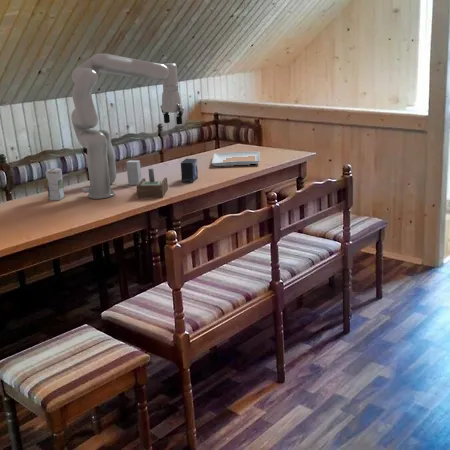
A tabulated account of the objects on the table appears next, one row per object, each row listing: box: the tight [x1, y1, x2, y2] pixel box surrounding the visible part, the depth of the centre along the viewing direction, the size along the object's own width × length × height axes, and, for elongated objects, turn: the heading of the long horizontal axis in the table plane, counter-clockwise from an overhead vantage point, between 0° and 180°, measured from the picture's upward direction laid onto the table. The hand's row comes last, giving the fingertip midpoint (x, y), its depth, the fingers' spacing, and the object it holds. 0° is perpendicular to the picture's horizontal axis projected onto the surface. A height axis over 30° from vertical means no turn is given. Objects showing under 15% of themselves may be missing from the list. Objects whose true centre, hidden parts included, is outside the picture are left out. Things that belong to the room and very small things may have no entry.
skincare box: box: [125, 159, 143, 186], centre depth 321 cm, size 6×4×12 cm
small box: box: [180, 158, 199, 184], centre depth 323 cm, size 11×6×10 cm, turn 168°
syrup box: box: [45, 167, 65, 201], centre depth 299 cm, size 6×6×14 cm
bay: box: [135, 177, 169, 199], centre depth 301 cm, size 16×12×6 cm
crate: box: [141, 168, 162, 186], centre depth 297 cm, size 8×8×11 cm
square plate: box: [211, 150, 261, 167], centre depth 361 cm, size 27×27×4 cm
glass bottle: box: [98, 129, 117, 185], centre depth 321 cm, size 10×10×28 cm
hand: (173, 123), depth 316 cm, fingers open, 9 cm apart
